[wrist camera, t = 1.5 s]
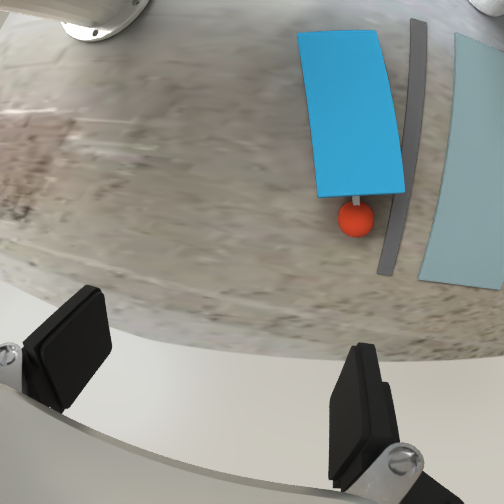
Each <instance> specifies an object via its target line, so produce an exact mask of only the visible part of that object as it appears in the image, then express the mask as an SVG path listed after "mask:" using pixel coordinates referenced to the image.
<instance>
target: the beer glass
mask: <svg viewBox="0 0 504 504" xmlns="http://www.w3.org/2000/svg"><path fill="white" fill-rule="evenodd" d="M469 2H470V3H471V4H472V5H473V6H474V7H475V8H477V9H478V10H479V11H481V12H482V13H484V14H486V15H489V16H493V17H497V16H501V15H502V14H504V0H469Z"/></svg>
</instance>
